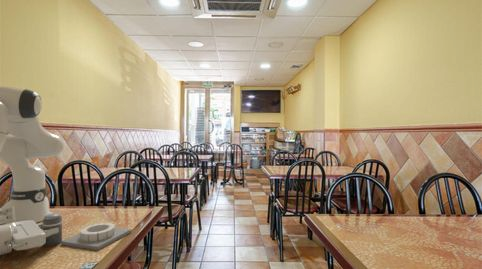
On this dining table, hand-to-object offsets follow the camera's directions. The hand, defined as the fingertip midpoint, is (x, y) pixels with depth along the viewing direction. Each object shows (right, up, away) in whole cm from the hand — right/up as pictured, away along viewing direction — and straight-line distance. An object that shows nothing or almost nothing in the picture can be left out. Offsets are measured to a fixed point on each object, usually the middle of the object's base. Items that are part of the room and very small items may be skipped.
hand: (55, 227), depth 92 cm
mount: (+13, -5, +4) cm, 15 cm away
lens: (0, -6, -1) cm, 6 cm away
